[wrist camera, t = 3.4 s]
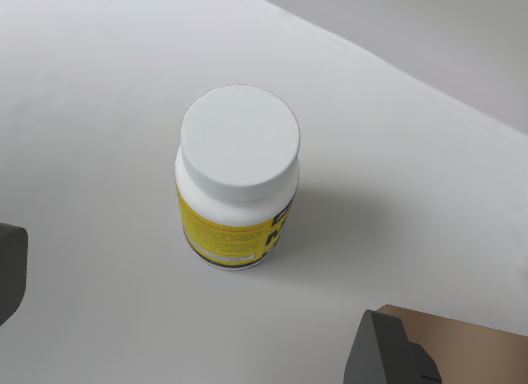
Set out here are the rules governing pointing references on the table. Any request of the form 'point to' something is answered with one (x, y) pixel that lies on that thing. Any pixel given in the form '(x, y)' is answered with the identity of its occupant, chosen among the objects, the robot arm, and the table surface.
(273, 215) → the supplement bottle
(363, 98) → the table surface
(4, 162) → the table surface
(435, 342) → the dock
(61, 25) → the table surface
